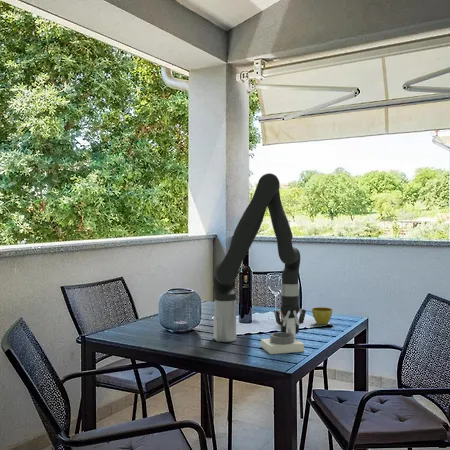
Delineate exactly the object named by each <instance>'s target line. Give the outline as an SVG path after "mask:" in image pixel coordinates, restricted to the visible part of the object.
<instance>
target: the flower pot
mask: <svg viewBox="0 0 450 450" xmlns="http://www.w3.org/2000/svg"><path fill="white" fill-rule="evenodd" d="M311 313H312V316H313V318H314V320H315V322H316V324H317V325H321V324H325V325H328V323H329V322H330V321H331V318H332V315H333V308H331V307H330V308H329V307H325V306H323V307H321V306H320V307H319V306H317V307H312V308H311Z"/></svg>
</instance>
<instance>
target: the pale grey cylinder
mask: <svg viewBox="0 0 450 450" xmlns="http://www.w3.org/2000/svg"><path fill="white" fill-rule="evenodd" d="M284 318H285V317H284ZM285 326H286V333H291V334H293V335H294V338H296V339H297V334H296V318H295V317H288V318H287V321H286V324H285Z"/></svg>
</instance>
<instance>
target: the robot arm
mask: <svg viewBox="0 0 450 450" xmlns="http://www.w3.org/2000/svg"><path fill="white" fill-rule="evenodd" d="M280 184H281V183H280V180H279V178H278V176H277V175H276V174H273V173H271V172H268V173H264V174H262V175H261V177H260V178H259V180H258V183H257V185H256V188H255V191H254V193H253V196H252V198H251V201H250V202H249V204H248V205H247V206H246V208H245V210H244V212H243V214H242V215H241V217H240V219H239V221H238V223H237V225H236V228H235V229H234V232H233V234H232V237H231V241H230V245H229V248H228V250H227V252H226V255H225V256H224V258H223V260H222V261H221V262H219V263H217V265H216V266H215V267H214V269H213V270H214V271H213V293H214V316H213V340H215V341H216V342H218V343H219V342H221V343H222V342H223V343H226V342H227V343H228V342H229V343H230V342H234V341H236V340H237V292H236V279H237V277H238V275H239V271H240V269H241V266H242V263H243V261H244V259H245V257H246V255H247V253H248V251H249V249H251V246H252V245H253V243H254V241H255V238H256V237H257V235H258V233H259V230H260V228H261V226H262V223H263V221H264V218H265V215H266V214H265V213H266V211H267V209H268V213H269V216H270V220H271V225H272V228H273V231H274V232H273V233H274V236H275V239H276V244H277V253H278V258H279V259H280V261H281V263H283V264H284V268H283V270H282V271H281V287H280V288H281V289H280V309H278V310H276V309H275V310H273V312H274V316H275V322H276V325H279V326H280V332H285V333H286V326H285V324H286V321H287V318H288V317H295V318H296V335H298V333H300V332H299V331H300V325H301V324H304V321H305V316H306V312H307V310H306V309H305V308H300V287H299V286H300V285H299V270H300V265H301V253H300V250H299V249H298V248H297V247H296V246H293V243H292V239H293V232H292V230H291V229H292V228H291V226H290V223H289V219H288V217H287V214H286V212H285V210H284V206H283V203H282V199H281V194H280ZM281 313H282V314H283V316H282V320H281ZM298 314H299V317H298ZM284 317H285V318H284Z"/></svg>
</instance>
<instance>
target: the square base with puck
mask: <svg viewBox="0 0 450 450" xmlns="http://www.w3.org/2000/svg"><path fill="white" fill-rule="evenodd" d="M260 348H262V349H263V350H265V352H267V353H269V354H270V355H274V354H276V355H277V354H287V353H298V352H299V353H300V352H302V353H303V352H305V343H304V342H302V341H300V340H298V339H297V337H296V338H294V335H293V334H291V333H285V332H281V331H280V332H273V333H271V334H270V335H269V338H261V339H260Z"/></svg>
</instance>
